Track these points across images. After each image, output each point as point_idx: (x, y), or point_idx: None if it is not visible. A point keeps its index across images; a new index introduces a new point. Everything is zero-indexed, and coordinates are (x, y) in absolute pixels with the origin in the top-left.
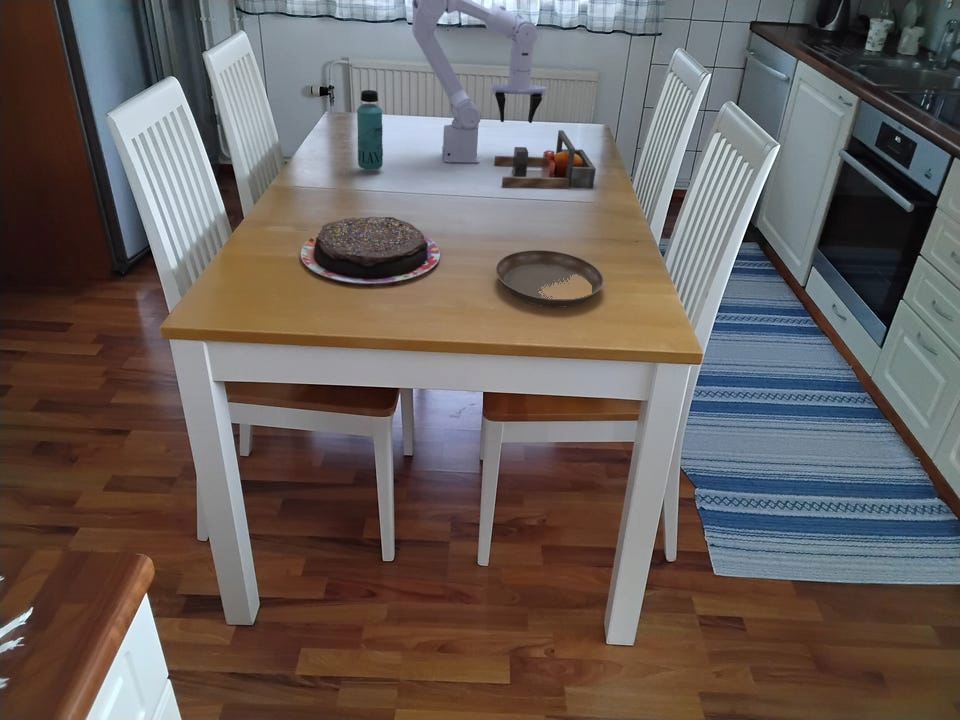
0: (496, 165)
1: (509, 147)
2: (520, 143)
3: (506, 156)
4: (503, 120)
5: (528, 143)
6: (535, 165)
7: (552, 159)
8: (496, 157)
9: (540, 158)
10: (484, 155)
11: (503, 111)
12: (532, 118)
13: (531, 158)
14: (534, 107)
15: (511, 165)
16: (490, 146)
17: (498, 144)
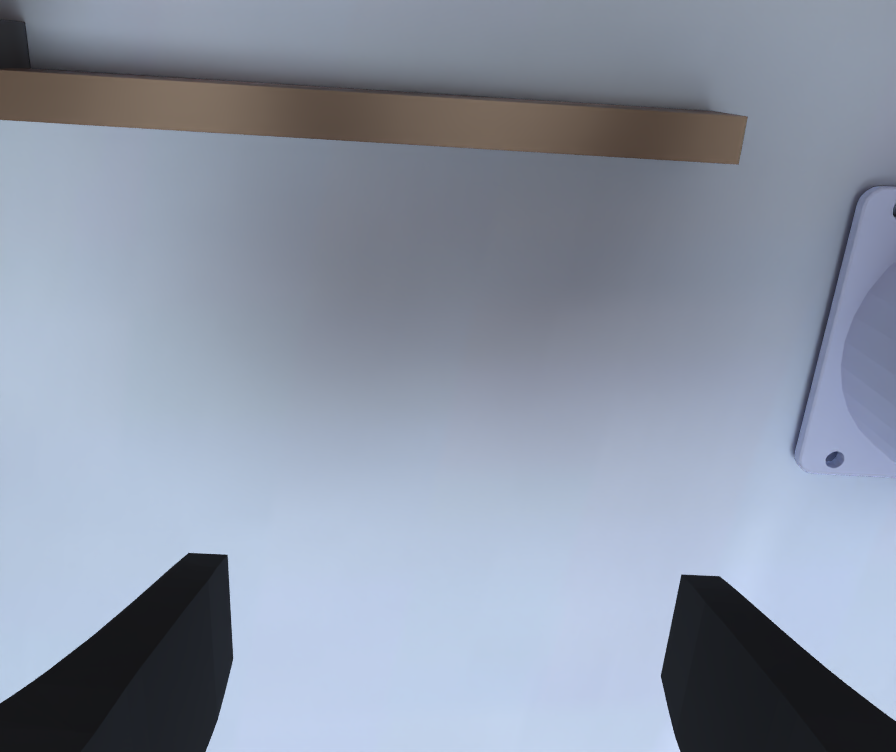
0: (694, 110)
1: (422, 640)
2: (303, 732)
3: (600, 145)
4: (700, 588)
5: (232, 734)
6: (250, 82)
7: (18, 72)
8: (732, 117)
9: (173, 82)
10: (718, 434)
11: (796, 689)
12: (149, 589)
13: (290, 87)
14: (17, 741)
15: (527, 99)
16: (591, 658)
17: (505, 705)
